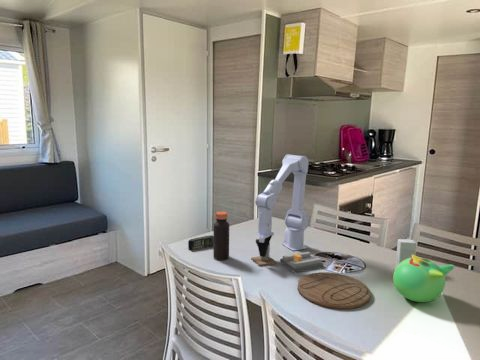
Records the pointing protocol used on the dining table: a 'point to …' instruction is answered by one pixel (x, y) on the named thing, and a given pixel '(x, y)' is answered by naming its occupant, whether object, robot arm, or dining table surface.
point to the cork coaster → (263, 263)
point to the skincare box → (405, 250)
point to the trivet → (333, 291)
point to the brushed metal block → (266, 254)
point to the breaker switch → (297, 257)
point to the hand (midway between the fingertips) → (263, 253)
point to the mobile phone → (201, 242)
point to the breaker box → (301, 262)
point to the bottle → (221, 237)
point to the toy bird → (420, 279)
